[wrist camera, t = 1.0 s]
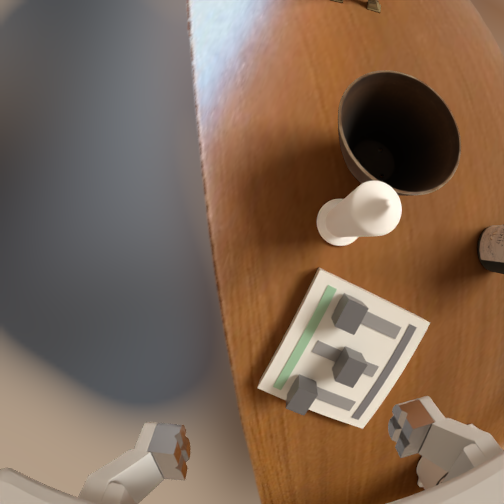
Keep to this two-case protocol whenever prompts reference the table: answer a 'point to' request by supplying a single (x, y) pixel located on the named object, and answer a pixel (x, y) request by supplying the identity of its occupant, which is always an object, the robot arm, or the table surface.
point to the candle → (360, 214)
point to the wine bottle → (492, 248)
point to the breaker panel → (332, 343)
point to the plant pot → (398, 133)
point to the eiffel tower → (372, 5)
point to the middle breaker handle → (349, 367)
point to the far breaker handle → (301, 395)
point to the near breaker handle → (349, 314)
